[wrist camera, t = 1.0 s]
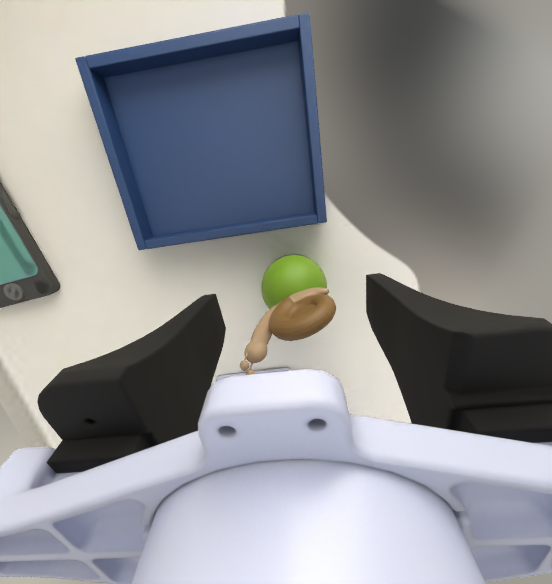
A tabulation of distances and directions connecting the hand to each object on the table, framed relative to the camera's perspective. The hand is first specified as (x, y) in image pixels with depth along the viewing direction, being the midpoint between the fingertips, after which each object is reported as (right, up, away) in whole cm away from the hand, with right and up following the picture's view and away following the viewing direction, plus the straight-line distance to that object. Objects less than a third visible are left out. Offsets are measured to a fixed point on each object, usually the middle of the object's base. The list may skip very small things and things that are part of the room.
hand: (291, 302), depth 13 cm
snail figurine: (0, +2, +13) cm, 13 cm away
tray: (-5, +12, +9) cm, 16 cm away
